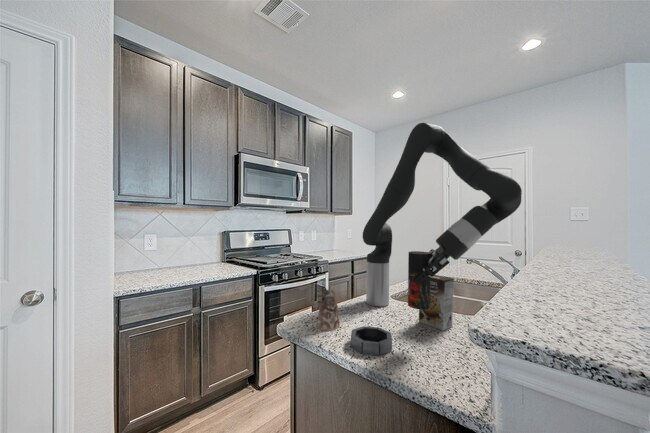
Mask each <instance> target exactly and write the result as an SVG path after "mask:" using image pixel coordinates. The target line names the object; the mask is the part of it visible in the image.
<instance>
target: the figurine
mask: <svg viewBox="0 0 650 433" xmlns="http://www.w3.org/2000/svg"><path fill="white" fill-rule="evenodd" d="M321 302H322V303H321V304H320V305H319V308H318V315H317V321H316V322H317V325H316V326H317V328H318V329H319V330H322V331H327V332H328V331H329V332H330V331H331V332H332V331H336V330H337V329H339V328H340V317H339V307H338V303H337V299H336V293H335V292H334V291H333V290H332V289H327V288H326V287H324V288H323V294H322V297H321Z"/></svg>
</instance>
